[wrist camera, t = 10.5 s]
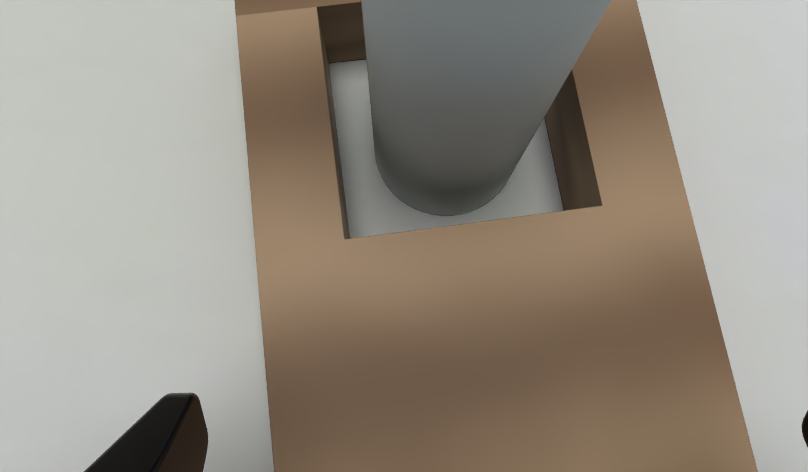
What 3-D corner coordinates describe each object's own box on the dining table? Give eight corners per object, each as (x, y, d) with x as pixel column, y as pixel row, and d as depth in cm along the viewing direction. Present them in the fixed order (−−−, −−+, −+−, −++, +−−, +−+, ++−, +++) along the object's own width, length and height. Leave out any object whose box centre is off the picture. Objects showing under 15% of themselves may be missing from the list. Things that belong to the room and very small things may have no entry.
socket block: (702, 491, 16) (769, 516, 13) (304, 553, 16) (284, 593, 13) (583, -13, 20) (615, -80, 17) (255, 23, 19) (231, -38, 17)
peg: (540, 177, 18) (953, -385, 5) (414, 239, 18) (477, -193, 4) (473, 62, 19) (662, -688, 6) (351, 118, 19) (236, -561, 5)
